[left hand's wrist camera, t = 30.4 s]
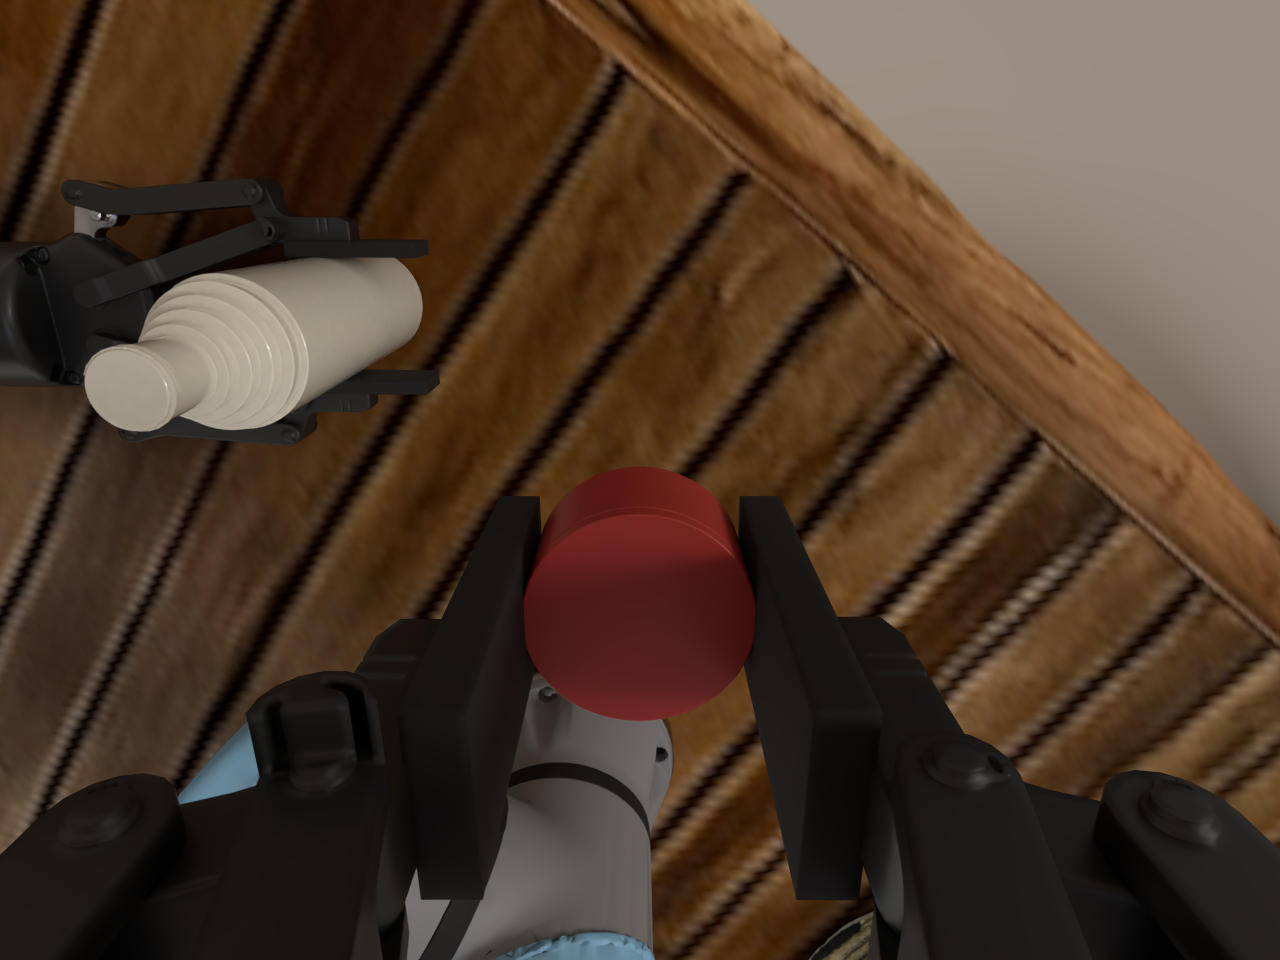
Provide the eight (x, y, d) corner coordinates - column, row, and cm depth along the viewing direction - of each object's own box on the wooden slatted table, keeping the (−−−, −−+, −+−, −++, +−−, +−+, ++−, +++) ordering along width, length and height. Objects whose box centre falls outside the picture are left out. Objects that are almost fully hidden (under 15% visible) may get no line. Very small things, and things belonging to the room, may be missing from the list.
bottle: (439, 281, 46) (253, 353, 24) (399, 371, 48) (192, 514, 26) (341, 229, 45) (52, 252, 23) (304, 322, 47) (4, 428, 25)
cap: (562, 443, 14) (547, 488, 12) (765, 493, 14) (789, 546, 12) (520, 624, 15) (499, 695, 13) (707, 665, 15) (718, 742, 13)
